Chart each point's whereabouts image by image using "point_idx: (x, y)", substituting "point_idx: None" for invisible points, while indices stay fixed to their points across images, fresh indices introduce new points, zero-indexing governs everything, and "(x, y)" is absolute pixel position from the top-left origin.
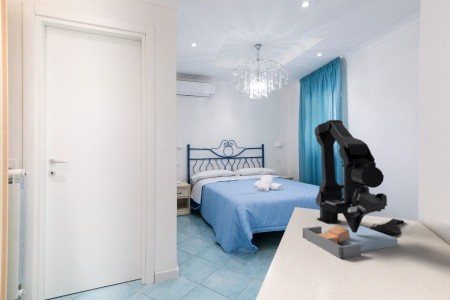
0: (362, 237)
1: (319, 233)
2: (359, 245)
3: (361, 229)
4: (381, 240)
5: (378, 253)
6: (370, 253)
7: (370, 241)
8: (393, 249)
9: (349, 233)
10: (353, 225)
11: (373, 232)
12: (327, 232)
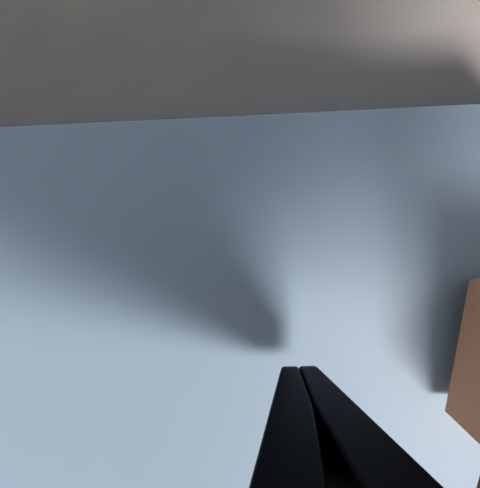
0: (265, 279)
1: None
2: None
3: (76, 453)
4: (108, 138)
5: (305, 18)
6: (386, 44)
7: (285, 147)
8: (54, 60)
9: None
10: (401, 457)
11: (7, 364)
12: (476, 467)
